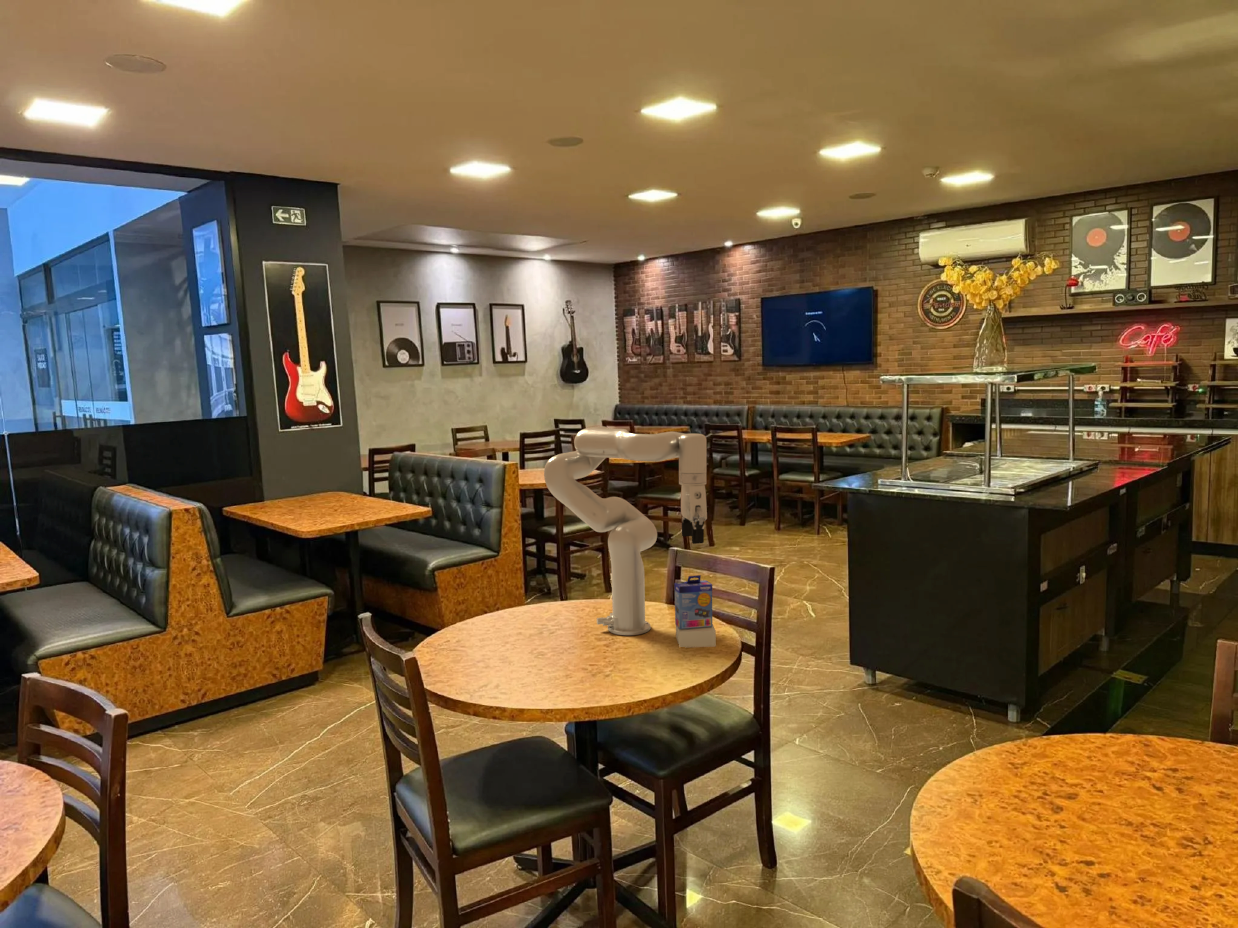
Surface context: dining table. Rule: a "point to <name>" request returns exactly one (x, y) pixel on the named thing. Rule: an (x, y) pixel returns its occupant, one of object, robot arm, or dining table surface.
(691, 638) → the base block
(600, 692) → the dining table surface
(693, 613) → the ink cartridge box
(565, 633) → the dining table surface
